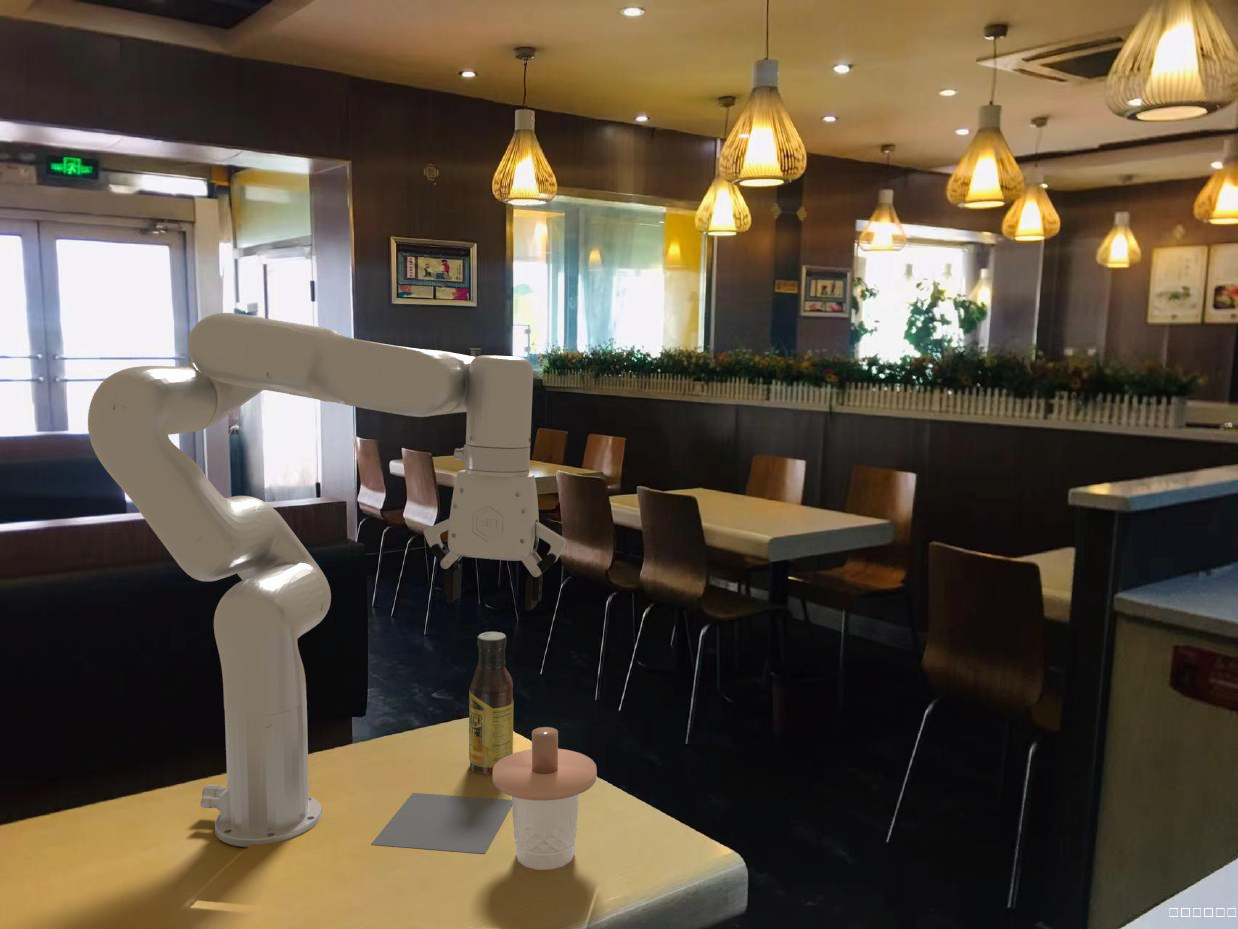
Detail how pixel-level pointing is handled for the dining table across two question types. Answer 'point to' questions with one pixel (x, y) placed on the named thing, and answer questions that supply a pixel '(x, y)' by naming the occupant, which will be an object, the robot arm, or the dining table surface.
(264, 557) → the robot arm
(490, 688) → the sauce bottle
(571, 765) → the lid
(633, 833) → the dining table surface
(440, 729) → the dining table surface
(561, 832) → the white cup
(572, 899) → the dining table surface
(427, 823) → the mat
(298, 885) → the dining table surface
